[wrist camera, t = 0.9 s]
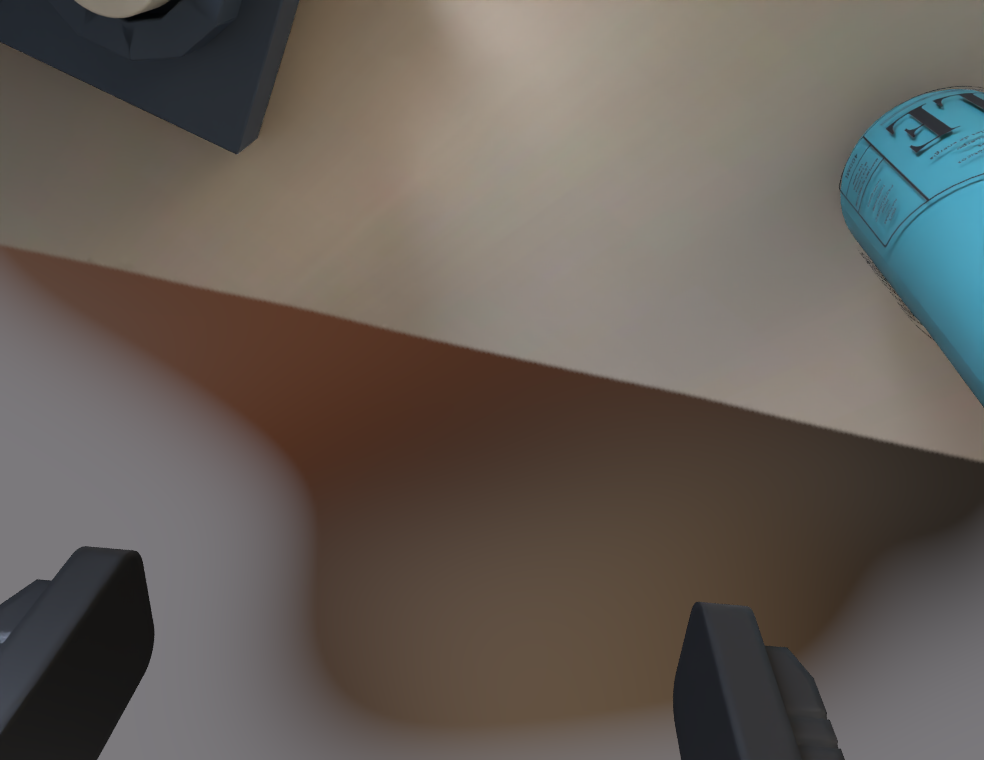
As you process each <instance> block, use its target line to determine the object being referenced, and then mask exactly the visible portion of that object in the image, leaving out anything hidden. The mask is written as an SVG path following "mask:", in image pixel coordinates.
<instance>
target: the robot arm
mask: <svg viewBox="0 0 984 760" xmlns="http://www.w3.org/2000/svg"><path fill="white" fill-rule="evenodd" d="M153 643H154V624H153V619H152V612H151V607H150V601H149V596H148V589H147V584H146V578H145V572H144V566H143V561H142V558H141V556H140V554H139V553H138V552H137V551H133V550H121V549H110V548H99V547H87V546H85V547H81V548H79V549H77V550H76V551H75V552H74V553H73V554H72V555H71V557H70V558H69V559H68V561H67V562H66V563H65V564H64V566H63V567H62V568H61V569H60V571H59V572H58V573H57V575H56V576H55V577H54V579H53V580H52V581H49V580H36V581H34V582H33V583H31V584H30V585H28V586H27V587H25V588H24V589H22V590H21V591H19V592H18V593H16V594H15V595H14V596H12V597H11V598H9V599H8V600H6V601H5V602H3V603H2V604H1V605H0V760H97V759H98V757H99V755H100V753H101V752H102V750H103V748H104V746H105V744H106V743H107V741H108V739H109V737H110V735H111V734H112V732H113V730H114V728H115V726H116V724H117V723H118V720H119V719H120V717H121V715H122V714H123V712H124V710H125V708H126V706H127V704H128V703H129V701H130V699H131V697H132V695H133V694H134V692H135V690H136V688H137V686H138V685H139V683H140V681H141V679H142V677H143V676H144V673H145V672H146V669H147V667H148V664H149V661H150V658H151V654H152V650H153ZM673 692H674V693H673V711H674V721H675V727H676V733H677V738H678V744H679V749H680V755H681V760H845V759H844V756H843V754H842V751H841V749H838V745H837V743H838V740H837V738H836V735H835V733H834V730H833V728H832V725H831V722H830V720H827V712H826V709H825V707H824V704H823V702H822V699H821V696H820V694H819V691H818V688H817V686H816V683H815V681H814V678H813V677H812V676H811V675H810V674H809V672H808V671H807V670H806V669H805V668H804V667H803V666H802V664H801V663H800V662H799V661H798V659H797V658H796V657H795V656H794V655H793V654H792V653H791V651H790V650H789V649H788V648H785V647H773V646H764V643H763V640H762V637H761V634H760V631H759V627H758V624H757V621H756V618H755V616H754V613H753V611H752V609H751V608H750V607H748V606H739V605H727V604H716V603H705V602H696V603H695V604H694V606H693V608H692V611H691V614H690V618H689V622H688V626H687V630H686V634H685V639H684V643H683V647H682V651H681V655H680V659H679V663H678V667H677V671H676V676H675V681H674V691H673Z"/></svg>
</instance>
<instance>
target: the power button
mask: <svg viewBox="0 0 984 760" xmlns="http://www.w3.org/2000/svg"><path fill="white" fill-rule="evenodd" d="M75 1H76V2H77V3H78V4H80V5H81V6H83V7H84V8H86V9H88V10H90V11H91V12H94V13H96V14H98V15H101V16H105V17H110V18H126V17H131V16H134V15H137V14H140V13H143V12H146V11H149V10H152V9H155V8H158V7H160V6H162V5H164V4H166V3H167V2H168V1H170V0H75Z"/></svg>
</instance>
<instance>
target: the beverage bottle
mask: <svg viewBox="0 0 984 760" xmlns="http://www.w3.org/2000/svg"><path fill="white" fill-rule="evenodd" d="M956 87H967V86H956ZM968 87H972V86H968ZM948 88H951V87H948ZM980 88H981V87H980ZM942 89H945V88H942ZM937 90H940V89H937ZM977 90H978V89H977ZM980 90H981V89H980ZM933 91H936V90H933ZM982 91H983V90H982ZM930 92H932V91H930ZM926 93H928V94H925V93H924V95H923V94H921V96H920V95H918V96H916V97H913V98H911V99H909V100H907V101H905V102H903V103H902V104H900V105H898V106H896V107H894V108H893V109H891V110H890V111H888V112H887V113H885V114H884V115H883V116H882V117H880V118H879V119H878V120H877V121H875V122H874V123H873V124H872V125H871V126H870V127H869V128H868V129H867V131H866V132H865V133H864V134H863V136H862V137H861V138H860V139H859V141H858V143H857V144H856V146H855V147H854V149H853V151H852V153H851V155H850V156H849V158H848V160H847V162H846V165H845V167H844V170H843V172H844V173H842V175H843V177H842V176H841V179H842V183H841V180H840V183H841V190H840V192H841V193H840V195H841V207H842V213H843V216H844V219H845V222H846V225H847V226H848V228H849V230H850V232H851V234H852V235H853V236H854V238H855V239H856V240H857V242H858V243H859V244H860V246H861V247H862V248H863V250H864V251H865V252H866V254H867V255H868V256H869V257H870V258H869V259H871V260H872V261H873V262H872V263H873V264H875V265H876V266H875V268H876V267H877V268H878V269H879V271H880V272H881V273H882V274H883V275H882V274H881V275H882V276H884V277H885V278H884V277H883V278H884V280H885V279H886V280H887V281H888V282H889V284H890V285H891V286H892V288H893V289H894V290H895V291H894V290H893V291H894V293H895V292H896V293H897V294H898V295H899V297H900V298H901V299H902V300H900V299H899V300H900V302H901V301H902V302H903V304H904V303H905V305H906V306H907V307H908V309H909V310H910V312H911V313H912V315H913V316H915V317H916V318H917V319H918V320H919V322H920V323H919V322H918V321H917V322H918V323H919V324H921V325H923V326H924V327H925V328H926V330H927V331H928V332H929V334H930V335H931V337H932V339H933V340H934V341H935V342H936V343H937V345H938V346H939V347H940V349H941V350H942V351H943V353H944V354H945V356H946V357H947V358H948V360H949V361H950V362H951V364H952V365H953V366H954V368H955V369H956V370H957V372H958V373H959V375H960V376H961V377H962V379H963V380H964V381H965V383H966V384H967V385H968V387H969V388H970V389H971V391H972V392H973V394H974V395H975V396H976V398H977V399H978V400H979V402H980V403H981V404H982V406H983V407H984V93H983V92H979V91H975V89H974V90H973V89H972V90H971V89H970V90H969V89H968V90H967V89H951V90H943V91H937V92H932V93H929V92H926ZM839 189H840V184H839ZM859 253H860V252H859ZM860 254H861V253H860ZM862 254H863V253H862ZM862 254H861V255H862ZM862 257H863V258H864V256H863V255H862ZM866 257H867V256H866ZM866 257H865V258H864V259H866V261H867V258H866ZM869 261H870V260H869ZM867 262H868V261H867ZM868 263H869V262H868ZM870 263H871V261H870ZM870 263H869V264H870ZM872 263H871V264H872ZM872 266H873V265H872ZM873 268H874V266H873ZM875 268H874V270H875ZM877 268H876V269H877ZM874 270H873V271H874ZM875 272H876V270H875ZM876 274H877V275H878V273H876ZM879 275H880V274H879ZM879 275H878V276H879ZM881 278H882V277H881ZM883 278H882V279H883ZM886 280H885V281H886ZM882 281H883V280H882ZM887 281H886V282H887ZM883 282H884V281H883ZM883 282H882V283H883ZM886 284H887V283H886ZM886 284H884V285H885V286H887V285H886ZM890 285H889V286H890ZM891 286H890V287H891ZM890 287H889V288H890ZM885 288H886V287H885ZM887 288H888V287H887ZM889 288H888V289H889ZM889 290H892V289H891V288H890V289H889ZM893 291H892V292H893ZM894 293H893V294H894ZM896 293H895V294H896ZM895 297H896V296H895ZM896 298H897V297H896ZM899 305H901V304H899ZM901 306H902V305H901ZM902 308H903V307H902ZM902 308H901V309H902ZM904 308H905V307H904ZM904 308H903V309H904ZM905 309H906V308H905ZM905 309H904V310H905ZM903 312H905V311H903ZM907 312H908V311H907ZM910 312H909V313H910ZM906 314H907V313H906ZM907 315H908V314H907ZM909 315H910V314H909ZM909 317H911V316H909ZM914 320H915V319H914ZM911 321H912V320H911ZM915 321H916V320H915ZM912 322H913V321H912ZM916 326H917V325H916ZM917 327H918V326H917ZM918 328H919V327H918ZM924 333H925V332H924ZM925 334H926V333H925ZM926 335H927V334H926ZM929 337H930V336H929ZM931 337H930V338H931Z"/></svg>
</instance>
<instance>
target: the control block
mask: <svg viewBox="0 0 984 760" xmlns="http://www.w3.org/2000/svg"><path fill="white" fill-rule="evenodd" d="M298 3H299V0H170V1H168V2H167V3H166V4H164V5H162V6H160V7H158V8H155V9H152V10H149V11H146V12H143V13H140V14H137V15H134V16H131V17H126V18H110V17H105V16H101V15H98V14H96V13H94V12H91V11H90V10H88V9H86V8H84V7H83V6H81V5H80V4H78V3H77V2H76V1H75V0H0V42H2V43H4V44H6V45H8V46H10V47H12V48H14V49H16V50H18V51H20V52H23V53H25V54H27V55H29V56H31V57H33V58H35V59H37V60H39V61H41V62H44V63H46V64H48V65H50V66H52V67H54V68H56V69H58V70H60V71H62V72H65V73H67V74H69V75H71V76H73V77H75V78H77V79H79V80H81V81H83V82H86V83H88V84H90V85H92V86H94V87H96V88H98V89H100V90H102V91H104V92H107V93H109V94H111V95H113V96H115V97H117V98H119V99H121V100H123V101H125V102H128V103H130V104H132V105H134V106H136V107H138V108H140V109H142V110H144V111H146V112H149V113H151V114H153V115H155V116H157V117H159V118H161V119H163V120H165V121H167V122H170V123H172V124H174V125H176V126H178V127H180V128H182V129H184V130H186V131H188V132H191V133H193V134H195V135H197V136H199V137H201V138H203V139H205V140H207V141H209V142H212V143H214V144H216V145H218V146H220V147H222V148H224V149H226V150H228V151H230V152H233V153H235V154H239V153H240V152H241V151H242V150H243V149H245V148H246V147H247V146H248V145H250V144H251V143H252V142H253V141H254V140H256V139H257V138H258V135H259V131H260V128H261V125H262V122H263V118H264V115H265V112H266V108H267V105H268V102H269V99H270V95H271V92H272V89H273V85H274V82H275V79H276V76H277V72H278V69H279V66H280V63H281V59H282V56H283V53H284V49H285V46H286V43H287V40H288V36H289V33H290V30H291V26H292V23H293V20H294V17H295V13H296V10H297V7H298Z"/></svg>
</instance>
